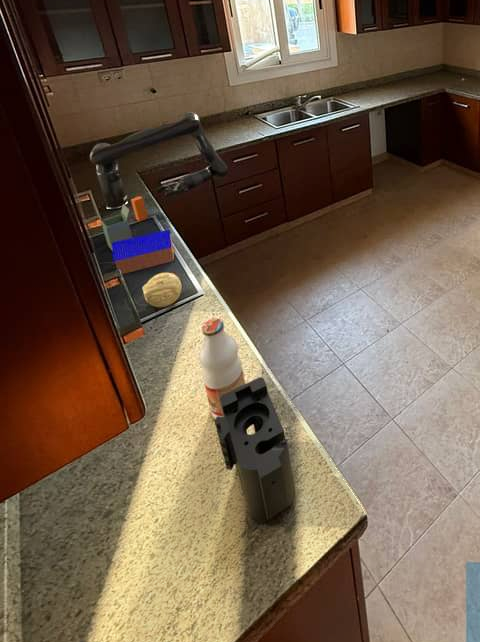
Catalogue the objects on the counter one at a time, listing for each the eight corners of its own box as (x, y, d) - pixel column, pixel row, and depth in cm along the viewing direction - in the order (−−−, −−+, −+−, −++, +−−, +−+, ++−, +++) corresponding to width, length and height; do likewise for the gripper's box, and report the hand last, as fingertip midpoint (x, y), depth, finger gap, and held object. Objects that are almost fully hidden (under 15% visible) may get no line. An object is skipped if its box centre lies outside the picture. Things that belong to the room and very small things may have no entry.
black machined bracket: (272, 435, 108) (261, 370, 99) (303, 514, 91) (293, 445, 83) (223, 462, 101) (207, 396, 93) (247, 552, 85) (230, 481, 77)
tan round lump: (146, 316, 146) (139, 291, 142) (149, 294, 156) (142, 270, 152) (183, 306, 151) (177, 281, 147) (184, 286, 161) (178, 262, 157)
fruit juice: (241, 422, 111) (224, 340, 100) (205, 422, 111) (184, 340, 100) (253, 390, 119) (238, 311, 109) (219, 390, 120) (201, 311, 109)
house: (175, 260, 175) (169, 236, 171) (118, 275, 167) (110, 250, 162) (174, 246, 185) (168, 222, 181) (120, 259, 177) (113, 235, 172)
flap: (123, 204, 186) (124, 204, 186) (120, 212, 186) (121, 212, 187) (129, 210, 181) (130, 210, 181) (126, 218, 181) (127, 218, 182)
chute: (108, 245, 186) (100, 220, 181) (128, 238, 191) (121, 213, 187) (113, 253, 181) (106, 227, 176) (134, 245, 186) (127, 220, 182)
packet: (144, 216, 209) (139, 196, 205) (147, 217, 208) (142, 197, 204) (136, 219, 206) (130, 199, 202) (139, 221, 205) (134, 201, 201)
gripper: (182, 171, 227) (151, 183, 215) (197, 177, 220) (167, 190, 207) (185, 184, 230) (155, 196, 217) (200, 190, 222) (170, 203, 210)
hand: (161, 193), depth 212 cm, fingers open, 8 cm apart
